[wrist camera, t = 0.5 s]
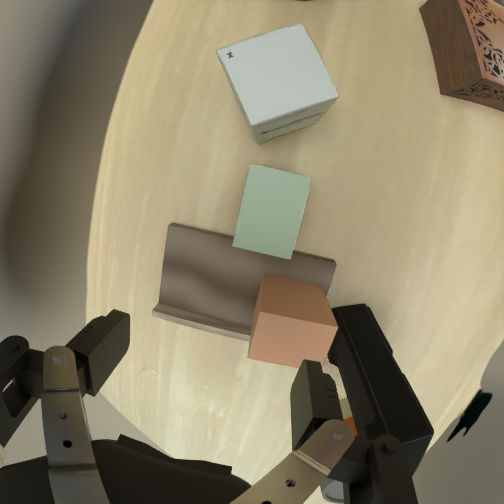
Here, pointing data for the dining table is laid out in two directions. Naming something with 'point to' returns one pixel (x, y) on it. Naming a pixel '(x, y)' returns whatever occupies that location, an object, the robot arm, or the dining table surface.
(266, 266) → the shallow tray
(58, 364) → the robot arm
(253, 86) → the supplement box
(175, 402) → the dining table surface
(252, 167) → the tea tin
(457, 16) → the tissue box cover
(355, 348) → the portable radio
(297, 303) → the terracotta tin
